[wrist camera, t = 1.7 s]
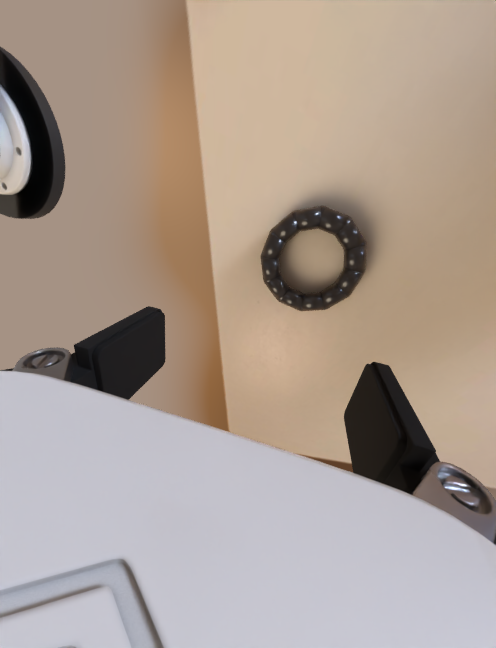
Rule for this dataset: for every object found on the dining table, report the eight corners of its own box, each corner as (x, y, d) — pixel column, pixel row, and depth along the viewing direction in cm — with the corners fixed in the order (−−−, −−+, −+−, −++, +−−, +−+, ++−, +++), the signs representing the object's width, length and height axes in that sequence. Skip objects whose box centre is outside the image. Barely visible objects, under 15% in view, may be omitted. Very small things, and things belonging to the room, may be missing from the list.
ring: (250, 285, 25) (246, 289, 24) (287, 191, 21) (285, 188, 19) (330, 321, 25) (332, 328, 23) (385, 232, 21) (392, 233, 19)
